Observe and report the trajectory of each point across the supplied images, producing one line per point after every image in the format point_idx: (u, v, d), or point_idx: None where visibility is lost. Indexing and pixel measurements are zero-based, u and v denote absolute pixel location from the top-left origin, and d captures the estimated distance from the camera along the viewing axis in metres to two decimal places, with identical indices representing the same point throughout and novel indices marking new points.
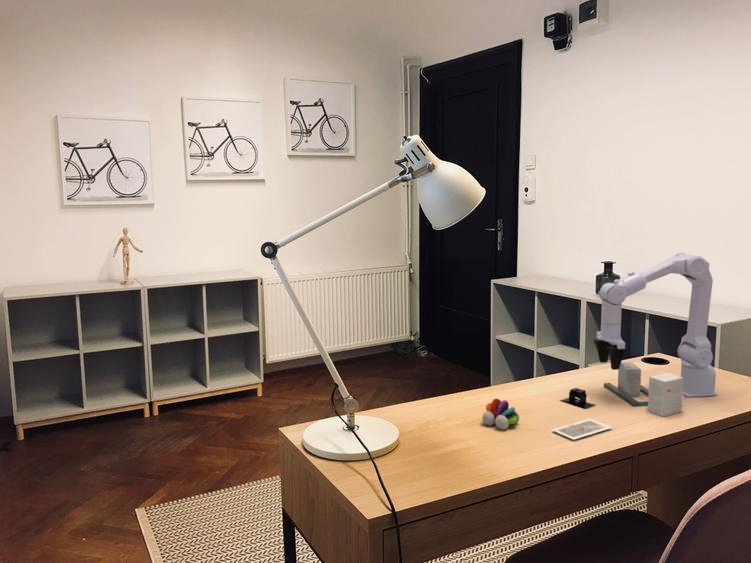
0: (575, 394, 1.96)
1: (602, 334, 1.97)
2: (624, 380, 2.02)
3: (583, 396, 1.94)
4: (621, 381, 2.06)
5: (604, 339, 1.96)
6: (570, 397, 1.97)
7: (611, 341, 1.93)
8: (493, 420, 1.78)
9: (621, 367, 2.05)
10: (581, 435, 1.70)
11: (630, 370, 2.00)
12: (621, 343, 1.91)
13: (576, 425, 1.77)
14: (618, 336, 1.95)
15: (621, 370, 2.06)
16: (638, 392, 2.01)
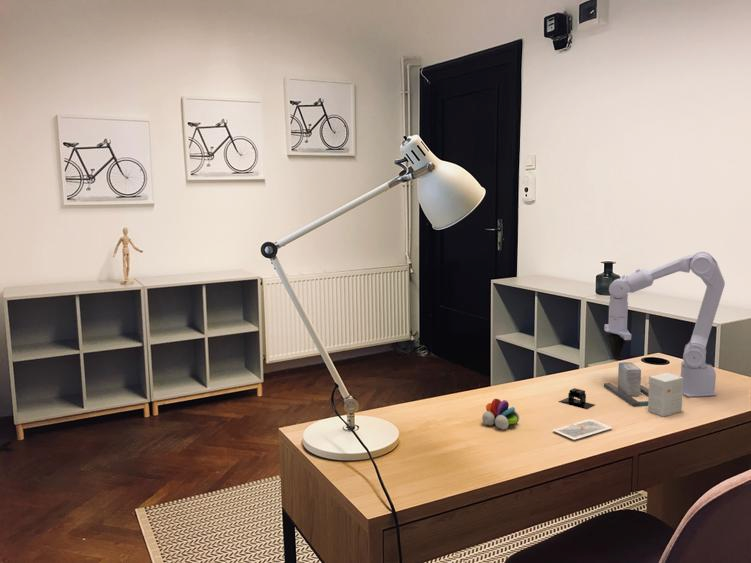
0: (574, 394, 1.95)
1: (610, 326, 2.10)
2: (624, 380, 2.02)
3: (583, 396, 1.94)
4: (621, 381, 2.06)
5: (611, 331, 2.09)
6: (569, 398, 1.96)
7: (618, 333, 2.07)
8: (493, 420, 1.78)
9: (621, 367, 2.05)
10: (581, 435, 1.70)
11: (631, 370, 2.00)
12: (628, 335, 2.04)
13: (576, 425, 1.77)
14: (625, 328, 2.09)
15: (621, 370, 2.05)
16: (638, 392, 2.01)
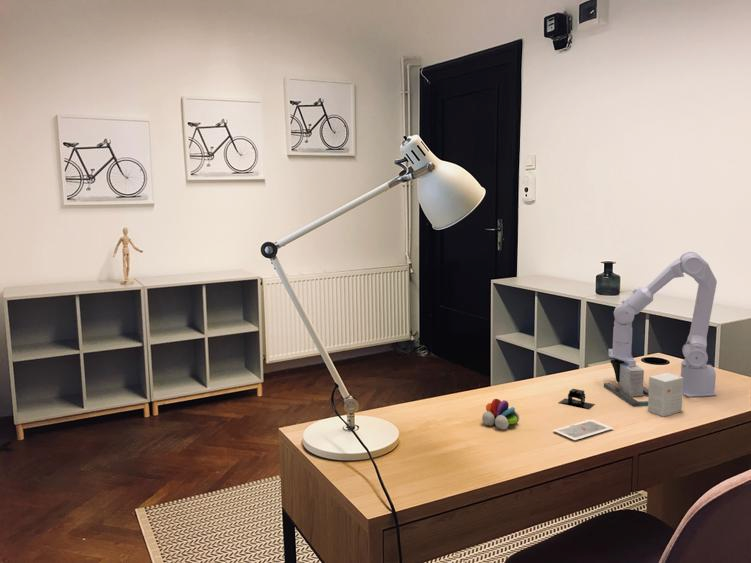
0: (574, 395, 1.95)
1: (614, 352, 2.08)
2: (627, 381, 2.01)
3: (583, 396, 1.94)
4: (623, 382, 2.04)
5: (616, 357, 2.07)
6: (569, 398, 1.95)
7: (622, 359, 2.05)
8: (493, 420, 1.78)
9: (623, 368, 2.04)
10: (582, 436, 1.70)
11: (634, 371, 1.99)
12: (632, 361, 2.02)
13: (577, 425, 1.77)
14: (629, 354, 2.06)
15: (622, 371, 2.04)
16: (641, 393, 2.00)
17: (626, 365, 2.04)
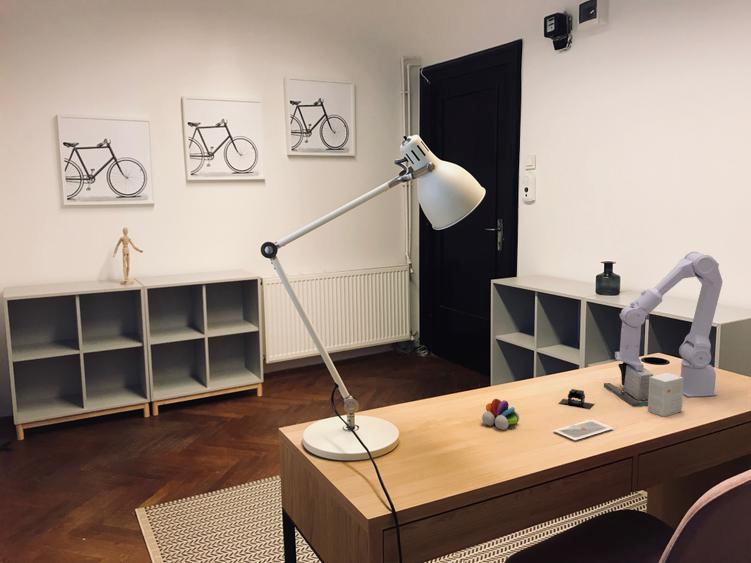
0: (574, 395, 1.94)
1: (621, 355, 2.02)
2: (636, 385, 1.97)
3: (583, 396, 1.94)
4: (629, 384, 2.00)
5: (623, 360, 2.01)
6: (569, 399, 1.95)
7: (630, 363, 1.99)
8: (493, 420, 1.78)
9: (631, 371, 1.99)
10: (582, 436, 1.69)
11: (644, 376, 1.94)
12: (640, 365, 1.96)
13: (577, 425, 1.77)
14: (637, 358, 2.01)
15: (630, 374, 2.00)
16: None
17: (634, 368, 1.99)
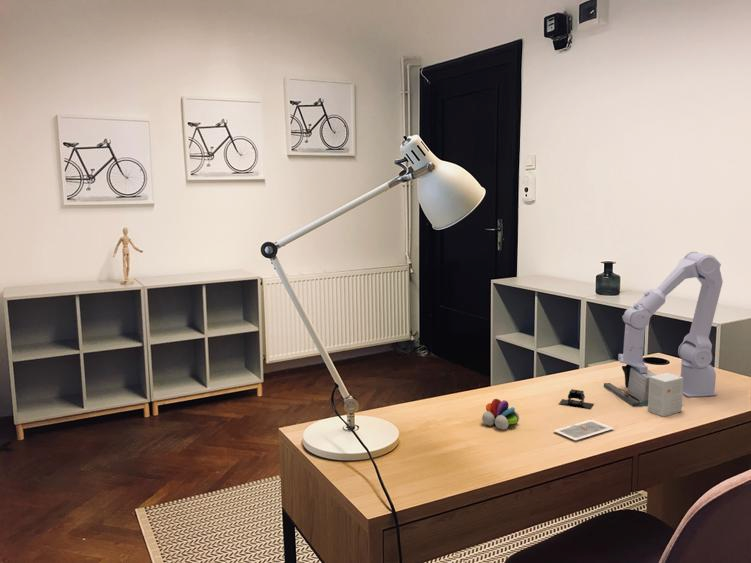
0: (574, 396, 1.94)
1: (624, 357, 2.00)
2: (641, 388, 1.95)
3: (583, 396, 1.93)
4: (634, 387, 1.98)
5: (626, 362, 1.99)
6: (569, 399, 1.95)
7: (633, 365, 1.97)
8: (493, 420, 1.78)
9: (635, 373, 1.97)
10: (583, 436, 1.69)
11: None
12: (644, 367, 1.94)
13: (578, 425, 1.76)
14: (640, 360, 1.99)
15: (634, 376, 1.97)
16: None
17: (638, 370, 1.97)
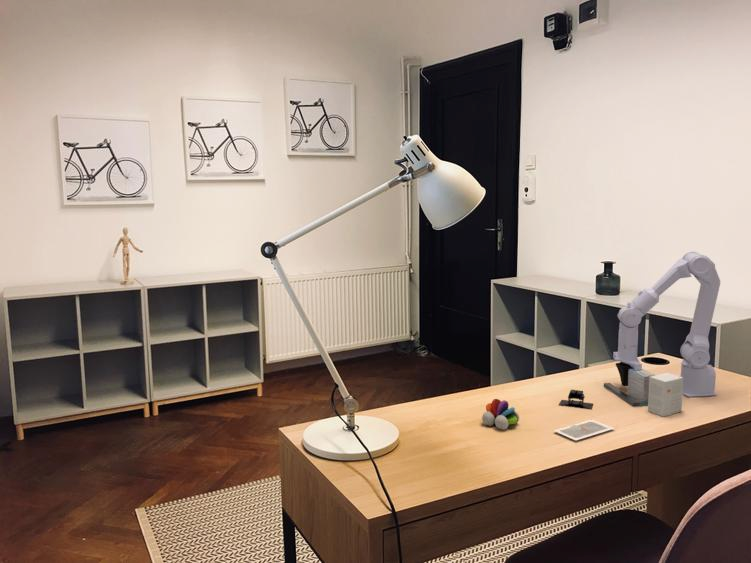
0: (574, 396, 1.94)
1: (619, 355, 2.04)
2: (639, 388, 1.95)
3: (583, 397, 1.93)
4: (633, 388, 1.98)
5: (621, 360, 2.03)
6: (569, 400, 1.94)
7: (628, 362, 2.01)
8: (493, 420, 1.78)
9: (633, 374, 1.98)
10: (583, 436, 1.69)
11: (647, 377, 1.93)
12: (638, 365, 1.98)
13: (578, 425, 1.76)
14: (635, 357, 2.03)
15: (632, 377, 1.98)
16: None
17: (636, 371, 1.98)
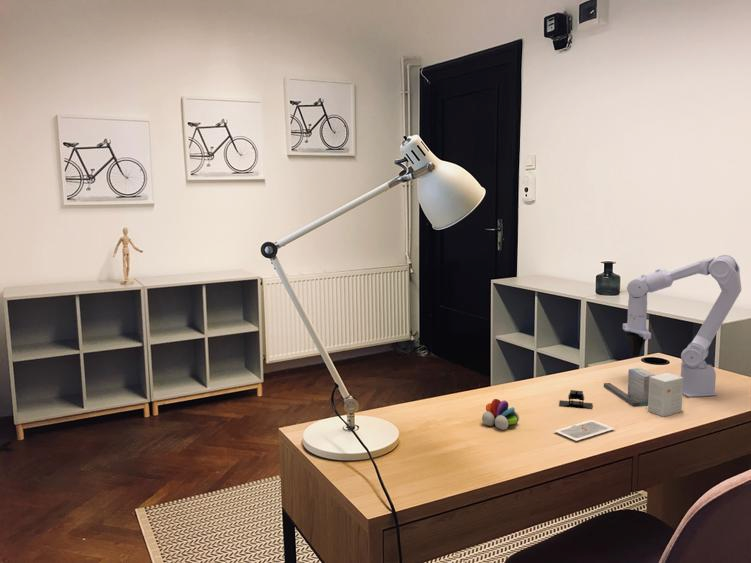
0: (574, 396, 1.94)
1: (629, 326, 2.10)
2: (639, 388, 1.95)
3: (583, 397, 1.93)
4: (633, 388, 1.98)
5: (631, 330, 2.09)
6: (569, 400, 1.94)
7: (638, 332, 2.06)
8: (493, 420, 1.78)
9: (633, 374, 1.98)
10: (584, 436, 1.69)
11: (647, 377, 1.93)
12: (647, 334, 2.04)
13: (578, 426, 1.76)
14: (644, 327, 2.08)
15: (632, 377, 1.98)
16: None
17: (636, 371, 1.98)
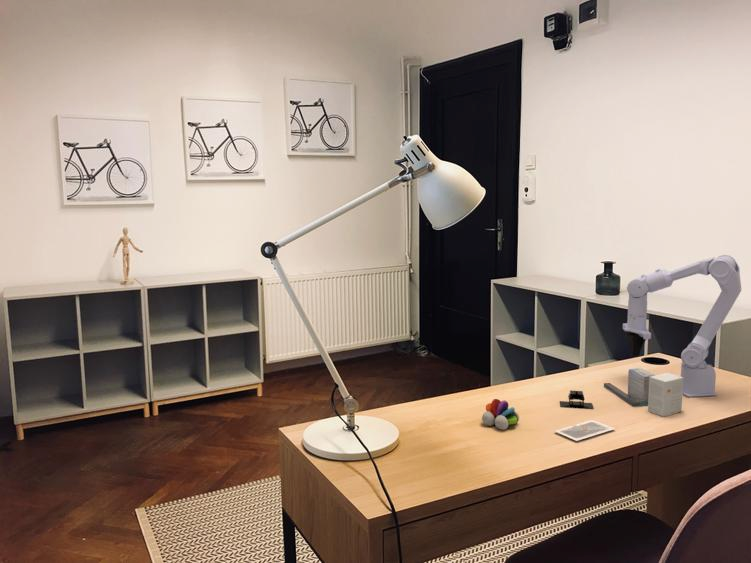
0: (575, 397, 1.93)
1: (629, 326, 2.10)
2: (639, 388, 1.95)
3: (583, 397, 1.93)
4: (633, 388, 1.98)
5: (631, 330, 2.09)
6: (570, 401, 1.93)
7: (638, 332, 2.06)
8: (493, 420, 1.78)
9: (633, 374, 1.98)
10: (584, 436, 1.69)
11: (647, 377, 1.93)
12: (647, 334, 2.04)
13: (579, 426, 1.76)
14: (644, 327, 2.08)
15: (632, 377, 1.98)
16: None
17: (636, 371, 1.98)
